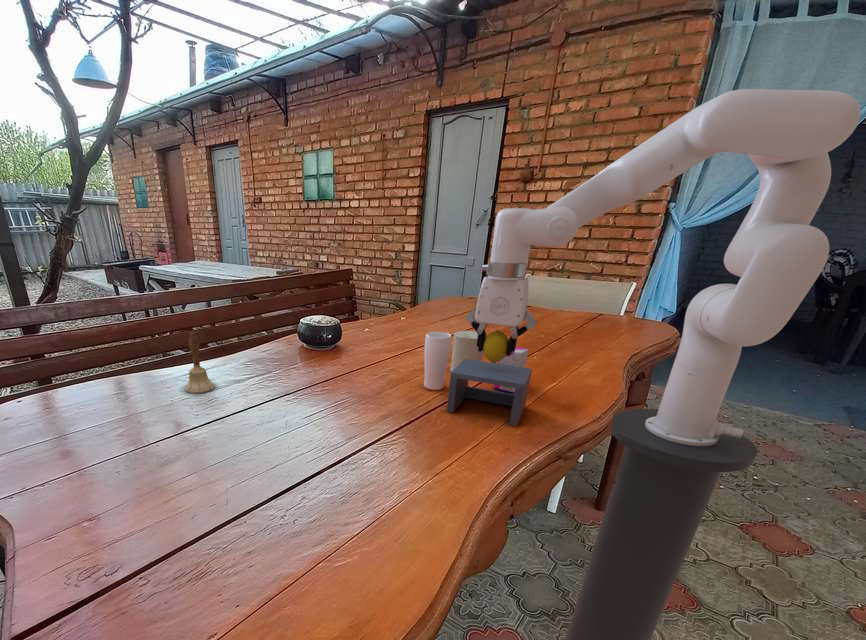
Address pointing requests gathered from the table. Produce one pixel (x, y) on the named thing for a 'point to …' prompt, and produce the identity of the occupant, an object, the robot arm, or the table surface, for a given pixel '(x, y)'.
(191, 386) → the hand bell
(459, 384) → the shelf
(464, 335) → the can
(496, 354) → the lemon
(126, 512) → the table surface
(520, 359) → the supplement box
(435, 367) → the drinking glass
